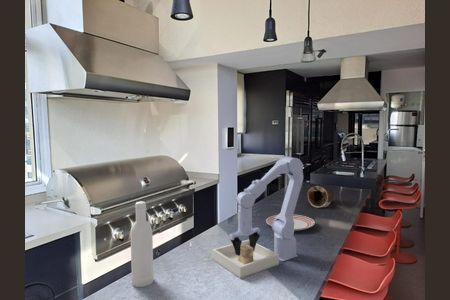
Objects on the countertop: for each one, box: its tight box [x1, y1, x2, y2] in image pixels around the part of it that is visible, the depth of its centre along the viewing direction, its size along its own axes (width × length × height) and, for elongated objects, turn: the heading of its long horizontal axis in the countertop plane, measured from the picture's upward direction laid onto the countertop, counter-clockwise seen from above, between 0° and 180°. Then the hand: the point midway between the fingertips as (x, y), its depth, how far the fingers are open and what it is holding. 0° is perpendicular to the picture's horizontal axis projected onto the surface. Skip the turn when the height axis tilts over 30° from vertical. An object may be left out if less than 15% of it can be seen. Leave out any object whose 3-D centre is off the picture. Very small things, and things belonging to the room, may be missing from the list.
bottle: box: [129, 200, 155, 288], centre depth 110 cm, size 8×8×30 cm
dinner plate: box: [265, 214, 316, 232], centre depth 173 cm, size 27×27×3 cm
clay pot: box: [307, 185, 334, 209], centre depth 219 cm, size 15×15×25 cm
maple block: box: [238, 244, 253, 265], centre depth 126 cm, size 4×4×6 cm
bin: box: [211, 238, 280, 280], centre depth 127 cm, size 20×20×4 cm
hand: (245, 252), depth 127 cm, fingers open, 7 cm apart
